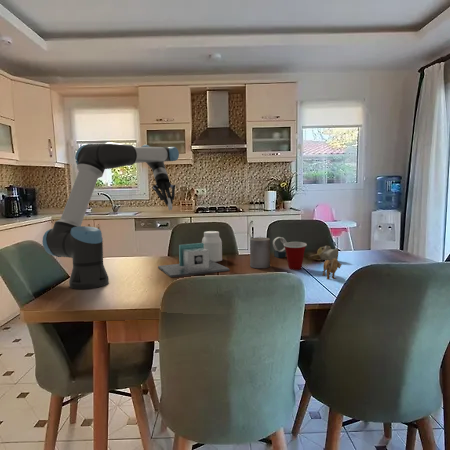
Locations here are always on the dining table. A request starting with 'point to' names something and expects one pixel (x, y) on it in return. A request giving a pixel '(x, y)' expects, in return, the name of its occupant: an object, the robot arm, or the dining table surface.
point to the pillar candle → (259, 252)
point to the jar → (213, 245)
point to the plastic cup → (295, 254)
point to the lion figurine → (331, 267)
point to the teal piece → (190, 246)
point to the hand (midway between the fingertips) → (170, 208)
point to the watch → (281, 252)
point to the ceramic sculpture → (325, 253)
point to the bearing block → (193, 264)
